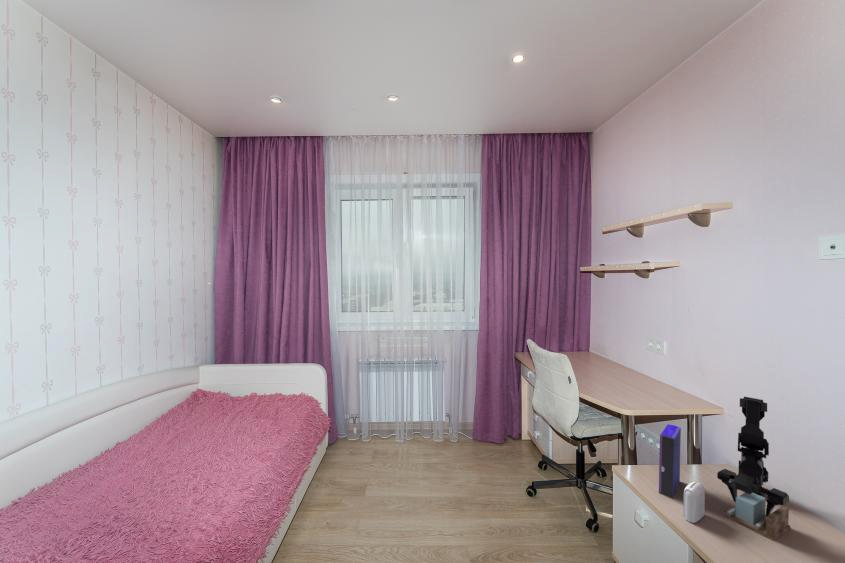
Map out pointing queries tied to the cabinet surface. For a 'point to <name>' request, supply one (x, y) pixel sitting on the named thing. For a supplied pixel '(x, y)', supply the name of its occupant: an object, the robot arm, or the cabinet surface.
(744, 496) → the light blue block
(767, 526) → the cleat stand
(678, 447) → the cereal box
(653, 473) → the cabinet surface
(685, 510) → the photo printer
